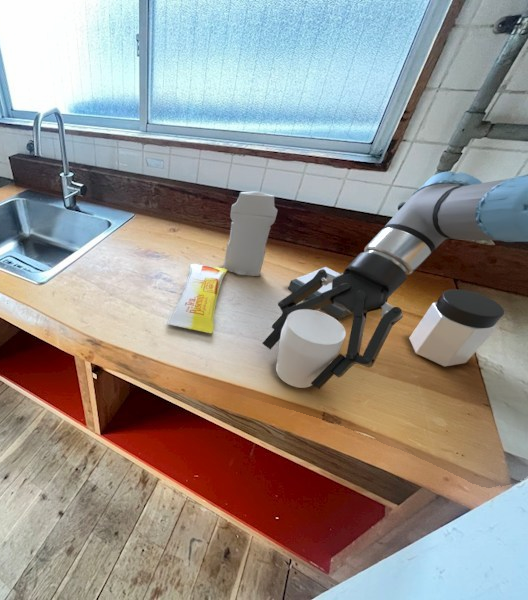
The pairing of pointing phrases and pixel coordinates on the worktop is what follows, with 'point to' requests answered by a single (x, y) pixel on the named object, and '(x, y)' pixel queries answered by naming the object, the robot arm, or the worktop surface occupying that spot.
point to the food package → (198, 299)
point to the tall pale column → (249, 232)
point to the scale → (320, 292)
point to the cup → (307, 346)
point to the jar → (455, 327)
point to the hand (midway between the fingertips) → (288, 365)
